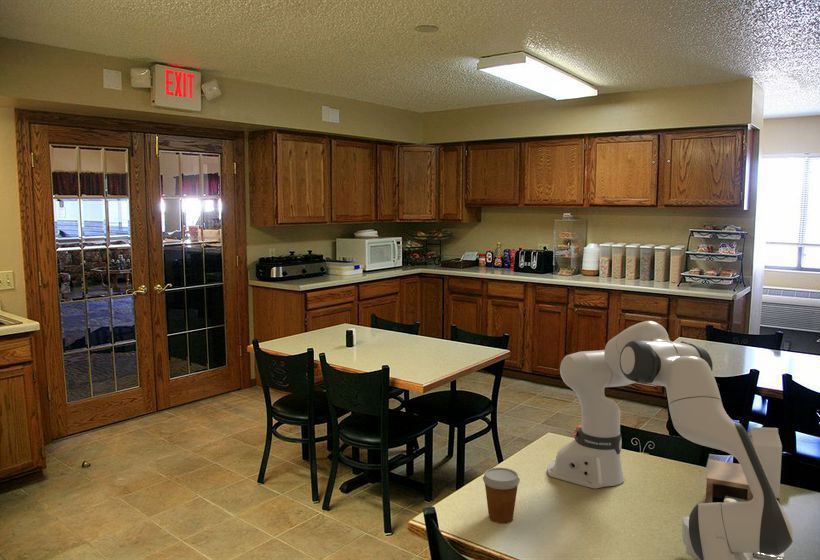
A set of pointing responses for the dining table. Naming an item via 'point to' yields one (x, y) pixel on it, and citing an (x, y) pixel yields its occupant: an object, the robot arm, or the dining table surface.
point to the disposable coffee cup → (501, 493)
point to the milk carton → (768, 453)
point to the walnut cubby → (726, 481)
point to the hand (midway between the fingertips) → (730, 522)
